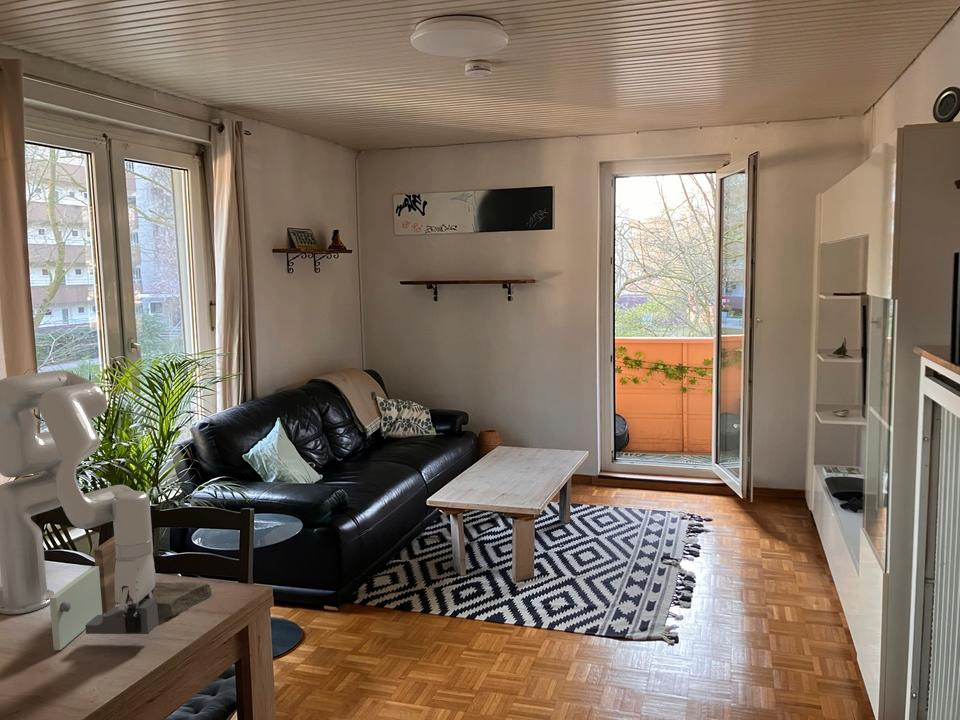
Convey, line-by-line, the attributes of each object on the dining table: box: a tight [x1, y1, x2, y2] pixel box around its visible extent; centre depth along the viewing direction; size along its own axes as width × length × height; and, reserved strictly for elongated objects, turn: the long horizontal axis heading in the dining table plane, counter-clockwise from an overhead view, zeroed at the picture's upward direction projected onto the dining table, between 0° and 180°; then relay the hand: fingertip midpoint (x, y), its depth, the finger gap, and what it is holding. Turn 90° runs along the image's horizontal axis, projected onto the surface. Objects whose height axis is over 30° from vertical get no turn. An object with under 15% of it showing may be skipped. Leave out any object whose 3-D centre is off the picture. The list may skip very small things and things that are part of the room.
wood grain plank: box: [93, 535, 118, 614], centre depth 194 cm, size 2×14×16 cm, turn 178°
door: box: [49, 565, 103, 651], centre depth 177 cm, size 3×18×12 cm, turn 178°
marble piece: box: [152, 581, 213, 620], centre depth 192 cm, size 17×15×4 cm
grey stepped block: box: [85, 598, 159, 635], centre depth 173 cm, size 14×5×6 cm, turn 88°
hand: (139, 625), depth 173 cm, fingers closed on grey stepped block, 5 cm apart
